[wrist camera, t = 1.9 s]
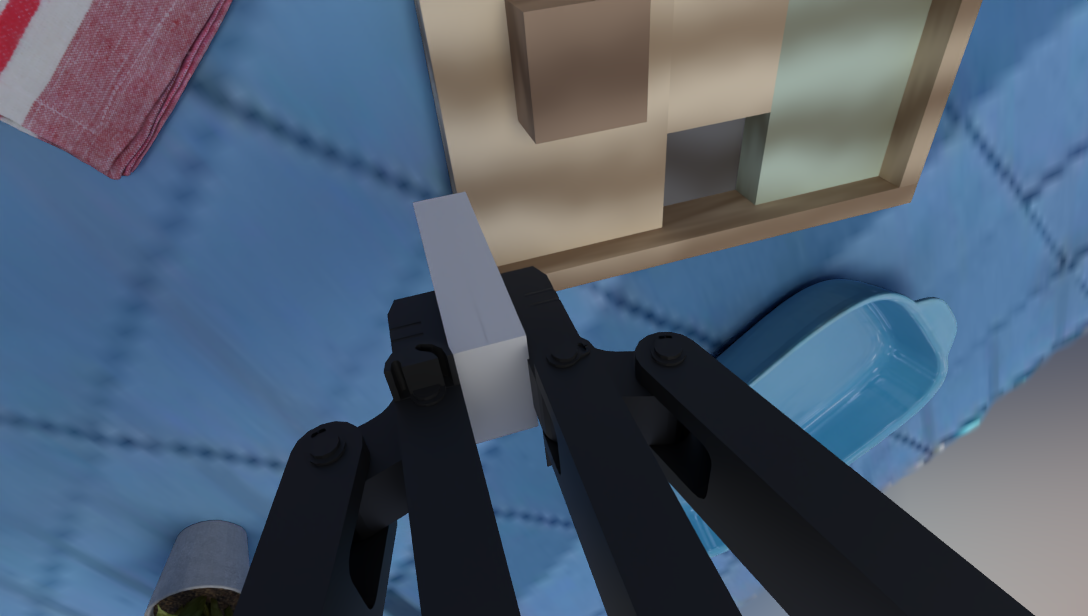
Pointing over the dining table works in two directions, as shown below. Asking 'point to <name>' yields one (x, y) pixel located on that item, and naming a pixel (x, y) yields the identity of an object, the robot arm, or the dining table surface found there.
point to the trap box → (699, 129)
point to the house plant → (203, 572)
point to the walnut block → (579, 65)
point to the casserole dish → (842, 366)
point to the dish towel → (100, 71)
